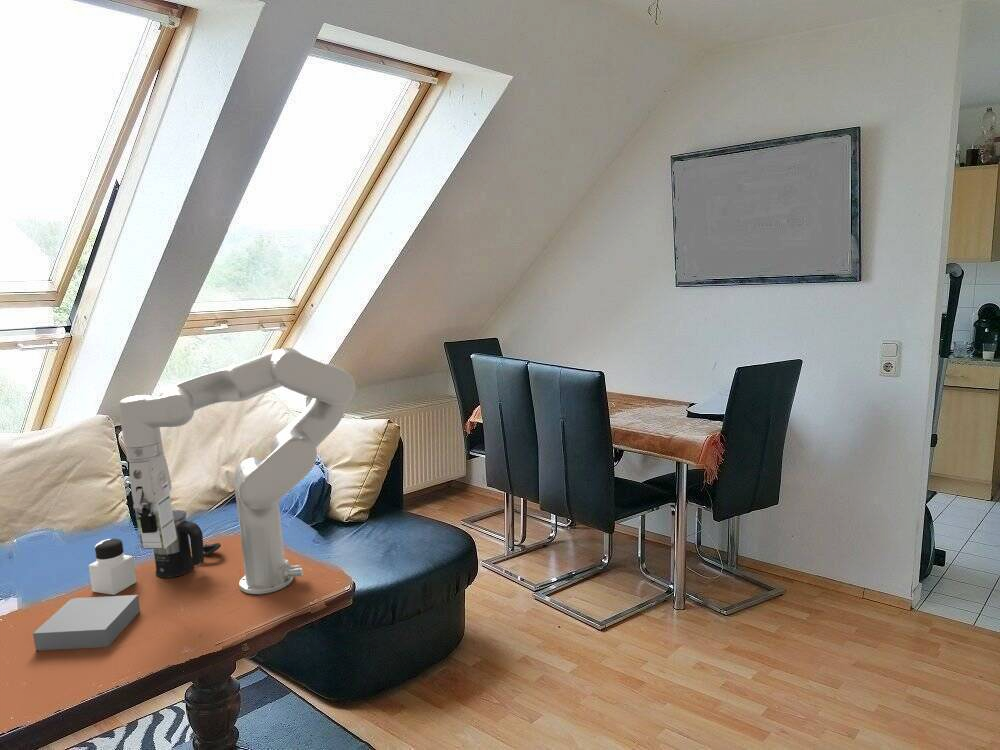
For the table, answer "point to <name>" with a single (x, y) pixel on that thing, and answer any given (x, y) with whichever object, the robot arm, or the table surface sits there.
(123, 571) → the medicine bottle
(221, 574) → the table surface
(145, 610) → the table surface
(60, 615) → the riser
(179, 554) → the milk frother
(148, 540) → the syrup box
